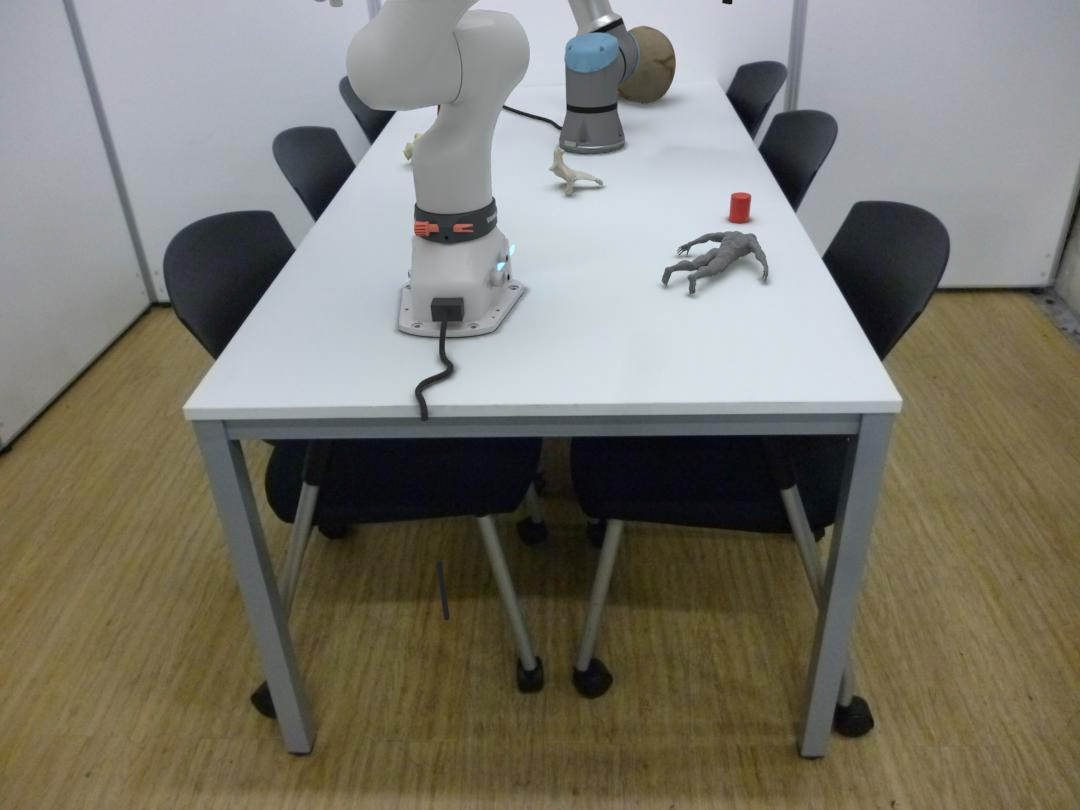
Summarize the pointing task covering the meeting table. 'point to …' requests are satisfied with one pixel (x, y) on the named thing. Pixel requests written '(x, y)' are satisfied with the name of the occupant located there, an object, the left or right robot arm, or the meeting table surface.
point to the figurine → (717, 256)
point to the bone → (569, 172)
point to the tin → (740, 207)
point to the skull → (650, 67)
